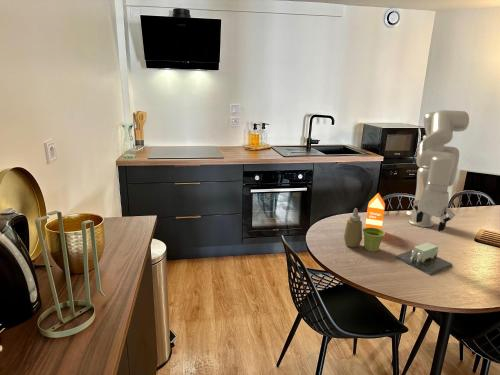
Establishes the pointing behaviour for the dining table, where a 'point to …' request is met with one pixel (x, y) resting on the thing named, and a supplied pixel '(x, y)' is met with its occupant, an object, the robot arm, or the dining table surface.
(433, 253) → the pale green block
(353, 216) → the squeeze bottle
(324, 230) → the dining table surface
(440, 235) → the dining table surface
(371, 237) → the plant pot
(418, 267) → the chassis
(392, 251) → the dining table surface
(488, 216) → the dining table surface
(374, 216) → the orange juice
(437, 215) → the robot arm
